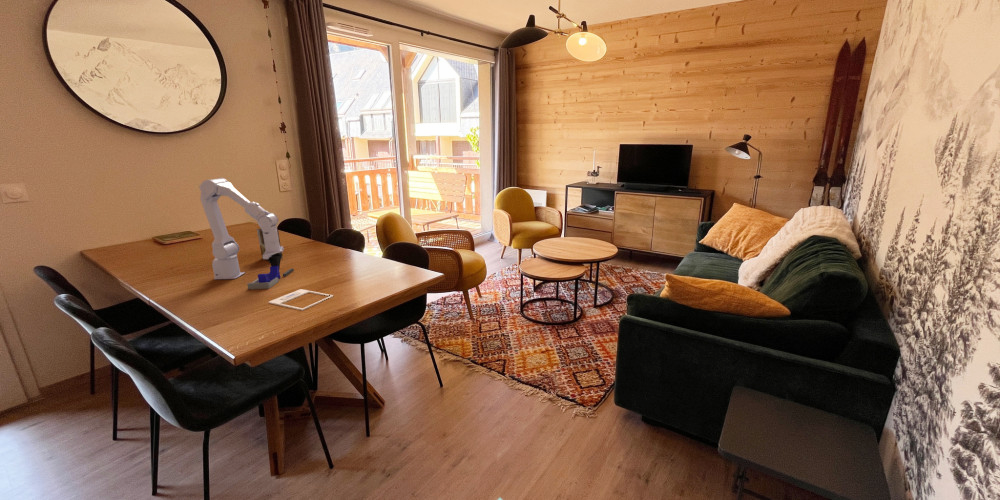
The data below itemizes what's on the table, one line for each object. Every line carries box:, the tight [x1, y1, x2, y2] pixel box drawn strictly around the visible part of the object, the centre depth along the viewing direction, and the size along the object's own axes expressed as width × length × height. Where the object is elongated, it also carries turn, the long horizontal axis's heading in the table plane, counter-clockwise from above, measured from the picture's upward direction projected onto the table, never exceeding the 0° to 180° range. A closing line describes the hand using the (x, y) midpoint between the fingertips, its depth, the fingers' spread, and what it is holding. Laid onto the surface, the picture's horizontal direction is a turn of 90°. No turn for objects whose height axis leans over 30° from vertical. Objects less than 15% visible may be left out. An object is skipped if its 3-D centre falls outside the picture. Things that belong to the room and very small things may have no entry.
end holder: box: [246, 278, 280, 290], centre depth 171 cm, size 8×9×2 cm
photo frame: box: [268, 288, 334, 312], centre depth 155 cm, size 15×1×18 cm
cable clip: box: [257, 265, 281, 282], centre depth 173 cm, size 12×4×6 cm, turn 4°
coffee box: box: [256, 227, 283, 261], centre depth 208 cm, size 9×6×16 cm
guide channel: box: [282, 268, 294, 277], centre depth 186 cm, size 8×8×1 cm
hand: (276, 269), depth 182 cm, fingers closed
